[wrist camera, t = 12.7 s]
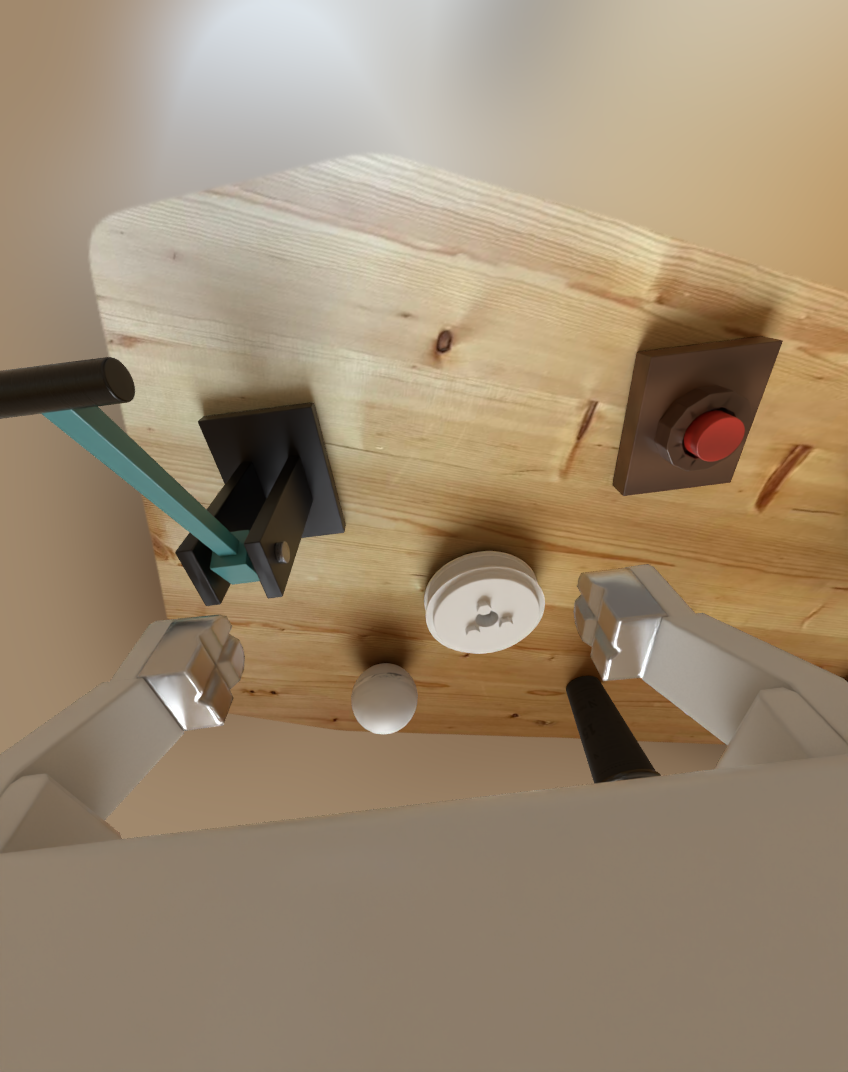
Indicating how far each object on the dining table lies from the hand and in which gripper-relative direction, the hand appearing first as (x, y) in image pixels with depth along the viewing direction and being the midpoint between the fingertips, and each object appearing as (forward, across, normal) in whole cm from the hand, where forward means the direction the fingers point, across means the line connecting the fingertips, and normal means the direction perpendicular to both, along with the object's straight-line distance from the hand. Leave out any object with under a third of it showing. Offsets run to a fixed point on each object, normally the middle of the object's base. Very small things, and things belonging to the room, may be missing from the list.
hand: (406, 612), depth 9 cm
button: (+23, -24, +6) cm, 34 cm away
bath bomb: (+28, +6, +36) cm, 46 cm away
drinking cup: (+28, -21, +45) cm, 57 cm away
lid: (+27, -6, +24) cm, 37 cm away
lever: (+13, +11, +1) cm, 17 cm away
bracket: (+27, +11, +8) cm, 30 cm away
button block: (+27, -24, +6) cm, 37 cm away
